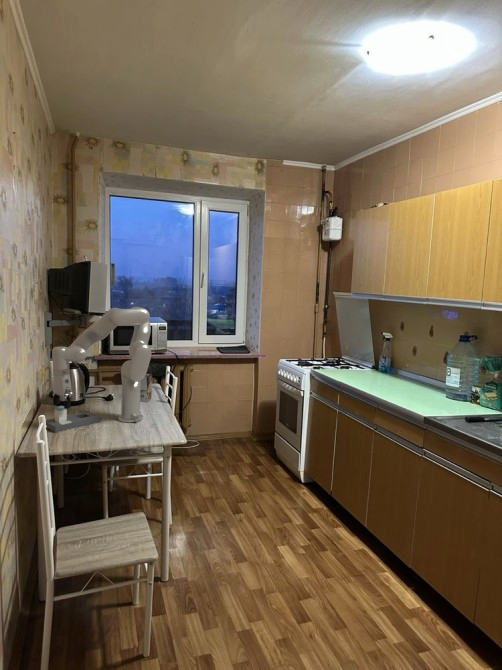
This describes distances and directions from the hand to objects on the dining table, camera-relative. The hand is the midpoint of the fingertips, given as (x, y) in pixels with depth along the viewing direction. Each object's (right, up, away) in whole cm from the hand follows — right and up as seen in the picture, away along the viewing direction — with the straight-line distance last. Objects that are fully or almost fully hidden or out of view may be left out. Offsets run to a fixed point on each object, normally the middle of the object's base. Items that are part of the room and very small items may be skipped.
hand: (62, 406), depth 218 cm
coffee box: (+27, -6, +57) cm, 64 cm away
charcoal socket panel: (+3, -10, +6) cm, 12 cm away
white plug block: (-1, -10, +1) cm, 11 cm away
